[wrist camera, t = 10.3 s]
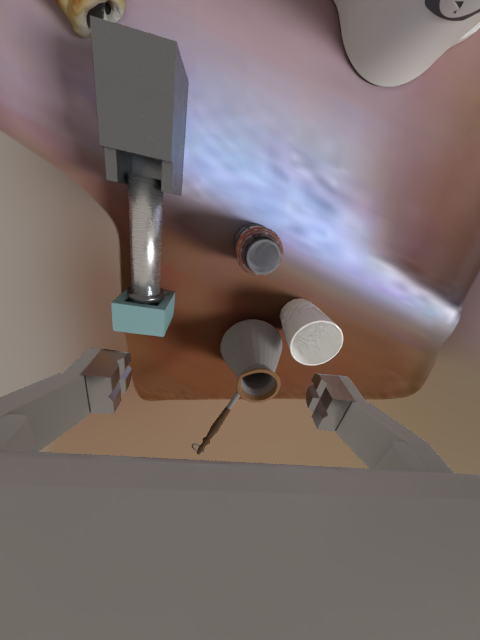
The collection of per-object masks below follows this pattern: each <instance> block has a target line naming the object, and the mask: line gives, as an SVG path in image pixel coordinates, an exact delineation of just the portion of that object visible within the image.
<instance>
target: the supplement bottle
mask: <svg viewBox="0 0 480 640" xmlns="http://www.w3.org/2000/svg"><path fill="white" fill-rule="evenodd" d="M234 248H235V253H236V257H237V260H238V263H239V265H240V266H241V267H242V269H243V270H244V271H246V272H247V273H249V274H251V275H255V276H263V275H267V274H269V273H271V272H272V271H274V270H275V269H276V268H277V267H278V266H279V264H280V262H281V260H282V257H283V245H282V242H281V240H280V238H279V237H278V235H277V234H276V233H275V232H273V231H272V230H270V229H268V228H266V227H264V226H262V225H260V224H256V223H252V224H247V225H245V226H243V227H242V228H241V229H240V230H239V231H238V232H237V234H236V236H235V240H234Z"/></svg>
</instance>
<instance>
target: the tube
mask: <svg viewBox="0 0 480 640" xmlns="http://www.w3.org/2000/svg"><path fill="white" fill-rule="evenodd" d="M128 194H129V227H130V261H131V286H130V287H128V288H127V298H128V299H129V300H131V301H132V303H139V304H146V305H153V306H158V305H159V304H160V302H161V301H162V300H163V299H164V290H163V289H162V288H160V278H161V246H162V214H163V192H162V191H161V180H159V179H155V178H151V177H147V176H142V175H138V174H133V173H128Z"/></svg>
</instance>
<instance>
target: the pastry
mask: <svg viewBox="0 0 480 640" xmlns="http://www.w3.org/2000/svg"><path fill="white" fill-rule="evenodd" d="M56 2H57V3H58V5H59V6H60V8H61V9H62V11H63V12H64V13H65V14H66V16H67V17H68V19H69V21H70V22H71V24H72V27H73V30H74V31H75V32H76V33H77V34H78V35H79V36H81V37H83V38H86V37H90V36H91V25H90V15H91V16H94V17H97V18H101V19H104V20H107V21H110V22H114V23H116V22H118V21H119V20H121V19H122V17H123V14H124V11H125V0H56Z"/></svg>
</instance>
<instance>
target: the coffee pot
mask: <svg viewBox="0 0 480 640" xmlns="http://www.w3.org/2000/svg"><path fill="white" fill-rule="evenodd" d="M220 345H221V354H222V357H223V359H224V361H225V362H226V363H227V365H228V366H229V367H230V368H231V370H232V371H233V372H234V374H235V375H236V376H237V377H238V381H237V391H236V393H235V394H234V396H233V398H232V399H231V401H230V402H229V404H228V405H227V406H226V408H225V409H224V410H223V412H222V413H221V414H220V416H219V417H218V418H217V419H216V421H215V422H214V423H213V425H212V426H211V428H210V431H209V432H208V434H207V436H206V437H205V438H203V443H202V444H201V445H198V444H192V448H193V449H194V447H193V445H198V446H199V448H198V451H197V450H196V449H194V450H195V451H196V452H197V454H200V453H203V452H204V448H205V446H206V445H207V444H209V443H210V439H211V438H212V437H213V436H214V435H215V433H216V432H217V431H218V430H219V428H220V426H221V425H222V423H223V421H224V420H225V418H226V417H227V415H228V413H229V412H230V410H231V408H232V406H233V405H234V404H235V402H236V401H237V399H238V398H239V397H240V396H241V397H242V398H243V399H244V400H247V401H249V402H264V401H267V400H269V399H271V398H273V397H274V396H275V395H276V394H277V393H278V391H279V389H280V384H281V383H280V379H279V377H278V375H277V374H275V371H276V368H277V364H278V361H279V358H280V355H281V352H282V345H283V344H282V338H281V336H280V334H279V332H278V331H277V330H276V329H275V328H274V327H273V326H272V325H271V324H269V323H267V322H265V321H261V320H257V319H248V320H244V321H240V322H238V323H236V324H234V325H233V326H232V327H231V328H230V329H228V330H227V331H226V333H225V334H224V336H223V338H222V341H221V344H220ZM202 451H203V452H202Z"/></svg>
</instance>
